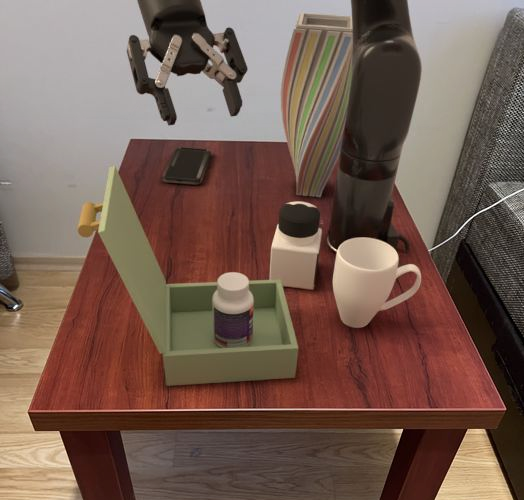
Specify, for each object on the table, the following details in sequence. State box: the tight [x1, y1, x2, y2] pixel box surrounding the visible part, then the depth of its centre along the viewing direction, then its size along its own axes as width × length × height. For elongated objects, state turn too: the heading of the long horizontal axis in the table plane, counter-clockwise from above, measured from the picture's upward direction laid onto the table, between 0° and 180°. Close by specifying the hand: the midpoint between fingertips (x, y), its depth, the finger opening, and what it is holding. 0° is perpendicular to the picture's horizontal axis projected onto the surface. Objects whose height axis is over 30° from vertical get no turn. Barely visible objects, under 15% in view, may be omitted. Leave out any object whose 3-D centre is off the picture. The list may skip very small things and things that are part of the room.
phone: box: [162, 147, 212, 186], centre depth 114 cm, size 8×1×15 cm
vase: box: [280, 12, 353, 198], centre depth 99 cm, size 14×14×30 cm
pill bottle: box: [212, 271, 254, 348], centre depth 71 cm, size 5×5×10 cm
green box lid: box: [76, 165, 167, 355], centre depth 64 cm, size 17×15×4 cm
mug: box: [332, 237, 422, 329], centre depth 76 cm, size 12×8×11 cm
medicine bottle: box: [268, 201, 323, 291], centre depth 84 cm, size 7×7×12 cm
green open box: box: [162, 279, 299, 387], centre depth 73 cm, size 17×15×5 cm
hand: (205, 117), depth 68 cm, fingers open, 8 cm apart
